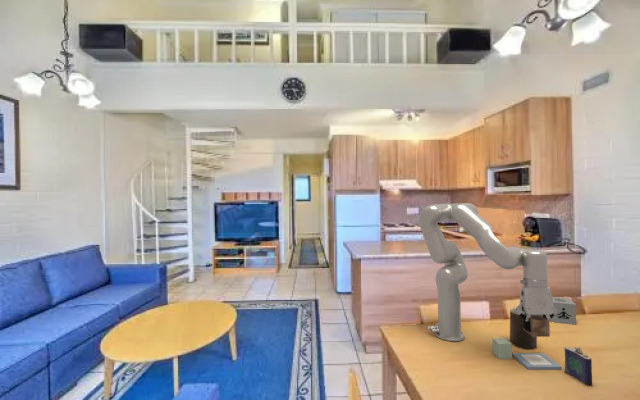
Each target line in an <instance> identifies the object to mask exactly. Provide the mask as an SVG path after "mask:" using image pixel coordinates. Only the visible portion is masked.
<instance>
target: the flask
mask: <svg viewBox="0 0 640 400" xmlns="http://www.w3.org/2000/svg"><path fill="white" fill-rule="evenodd" d="M581 349H582V347H580V346H579V347H574V348H572V347H570V346H565V347H564V372H565V373H566V374H567V375H569V376H571V378H573V379H576V380H578V382H581V383H582V384H584V385H585V386H588V387H592V386H593V371H592V369H593V368H592V365H593V364H592V363H593V362H592V361H593V360H592V358H591V357H590V356H588V355H587V354H585V353H584V352H583V350H581Z"/></svg>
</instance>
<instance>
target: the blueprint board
mask: <svg viewBox="0 0 640 400" xmlns="http://www.w3.org/2000/svg"><path fill="white" fill-rule="evenodd" d="M512 358H514V359H515V360H516V361H518V362H519V364H521V365H522V366H523V367H524V368H525V369H527V370H545V371H546V370H547V371H548V370H552V371H553V370H555V371H556V370H558V371H559V370H563V369H562V368H563V367H562V365H560V364H558V362H555V360H553V359H552V358H551V357H549V356H548V355H547V354H545V353H544V352H540V353H539V352H526V353H525V352H512Z"/></svg>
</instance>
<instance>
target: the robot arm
mask: <svg viewBox="0 0 640 400" xmlns="http://www.w3.org/2000/svg"><path fill="white" fill-rule="evenodd" d="M442 222H456V223H457V225H459V226H460V227H461V228H462V229H463V230H465V231H466V233H468V234H469V235H470V236H471V237H472V238H473V239H474V240H475V241H476V243H477V245H478V246H479V247H480V249H481V251H482V252H483V254H485V255H486V256H487V257H488V258H489V259H490V260H492V262H494V264H496V265H497V266H499V267H500V268H502V269H504V270H512V269H515V268H517V267H523V268H522V271H523V274H522V279H520V280H519V282H520V284H521V287H520V295H519V304H518V305H517V306H516V307H515V309H514V311H515V312H516V313H517V314H518V315H519V316H520V317H521V318H522V319H523V327H524V329H525V330H526V331H528V332H531V329H530V321H529V319H530V316H531V315H541V316H543V317H544V318H546V319H548V320H549V322H551V319H552V318H553V317H554V315H555V314H556V313H557V312H558V310H557V309H556V308H555V307H554V306H553V298H552V297H553V294H552V290H551V287H550V286H548V255H547V253H546V251H543V250H541V249H527V248H522V247H516V246H511V247H506V246H505V245H504V244H503V243H502V242H501V241H500V240H499V239H498V238H497V237H496V236H495V234H494V231H493V227H492V225H491V224H490V223H489V222H488V221H487V220H485V218H483V217H482V216H481V215H480V214H479V210H478V208H477V206H476V205H474V204H473V203H470V202H464V203H463V202H462V203H436V204H434V203H433V204H430V205H428V206H426V207H424V208H423V209H422V211H421V212H420V213H419V217H418V224H419V228H420V231H421V234H422V235H423V237H424V241H425V244H426V246H427V249H428V252H429V255H430V258H431V260H432V261H433V262H434V263H436V264H439V265H440V264H444V265H443V266H441V267H440V268H439V269H438V270H437V271H436V273H435V283H436V289H437V319H438V320H437V322H435V324H434V325H427V327H426V328H427V330H428V331H431V332H432V333H434V335H435V336H436V337H437V338H438V339H441V340H443V341H447V342H461V341H463V340H465V336H466V335H465V333H464V332H463V331H462V330H461V329H462V324H461V323H462V322H461V321H462V319H461V317H462V316H461V315H462V314H461V311H462V310H461V307H462V306H461V294H460V289H459V285H460V284H462V283H464V282H465V281H466V280H467V278H468V275H469V274H468V270H467V266H466V264H465V260H464V259H463V256H462V253H461V251H460V248H459V247H458V245H456V243H455V242H452V241H450V240H446V239H445V236H444V234H443V231H442V229H441V228H440V227H439V225H438V223H442ZM521 310H522V311H524V312H523V314H522V313H521Z"/></svg>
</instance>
